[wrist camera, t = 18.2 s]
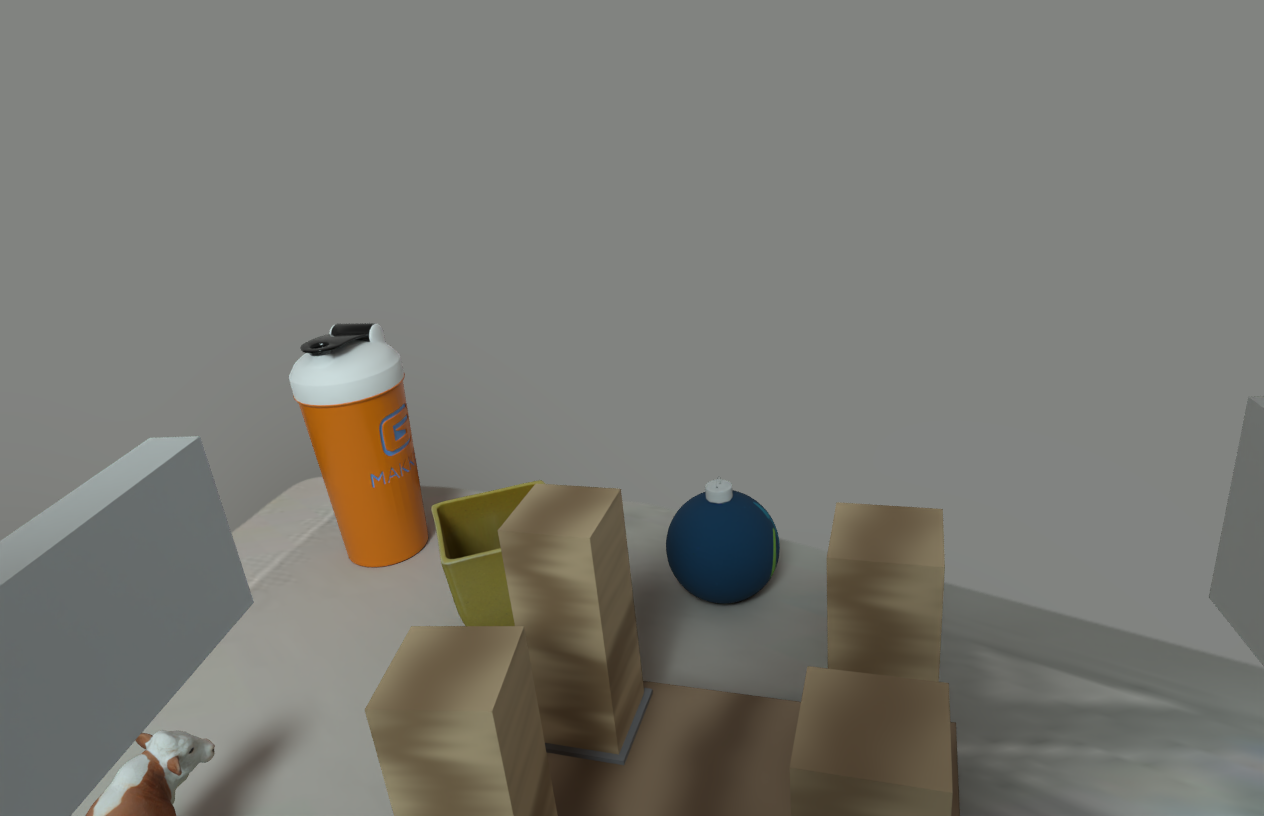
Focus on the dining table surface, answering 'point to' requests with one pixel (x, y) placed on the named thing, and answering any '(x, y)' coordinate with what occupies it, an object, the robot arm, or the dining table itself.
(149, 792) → the bull figurine
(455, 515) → the flower pot
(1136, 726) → the dining table surface
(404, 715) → the stool leg
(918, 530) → the tan post-studded fixture
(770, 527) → the christmas ornament
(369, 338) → the shaker bottle
